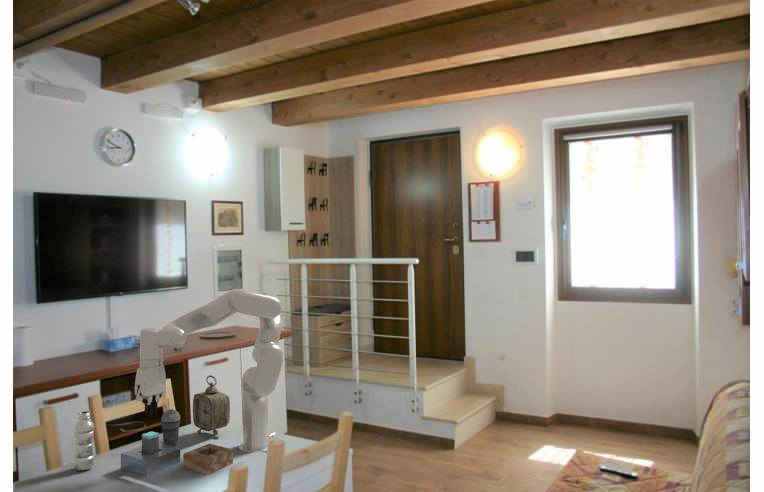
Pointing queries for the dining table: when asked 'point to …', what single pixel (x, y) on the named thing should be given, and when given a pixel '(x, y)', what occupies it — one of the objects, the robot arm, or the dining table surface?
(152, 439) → the plug
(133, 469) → the socket block
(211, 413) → the tabletop clock
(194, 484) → the dining table surface
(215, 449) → the wooden square hole block
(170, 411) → the beverage cup
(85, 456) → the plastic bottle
